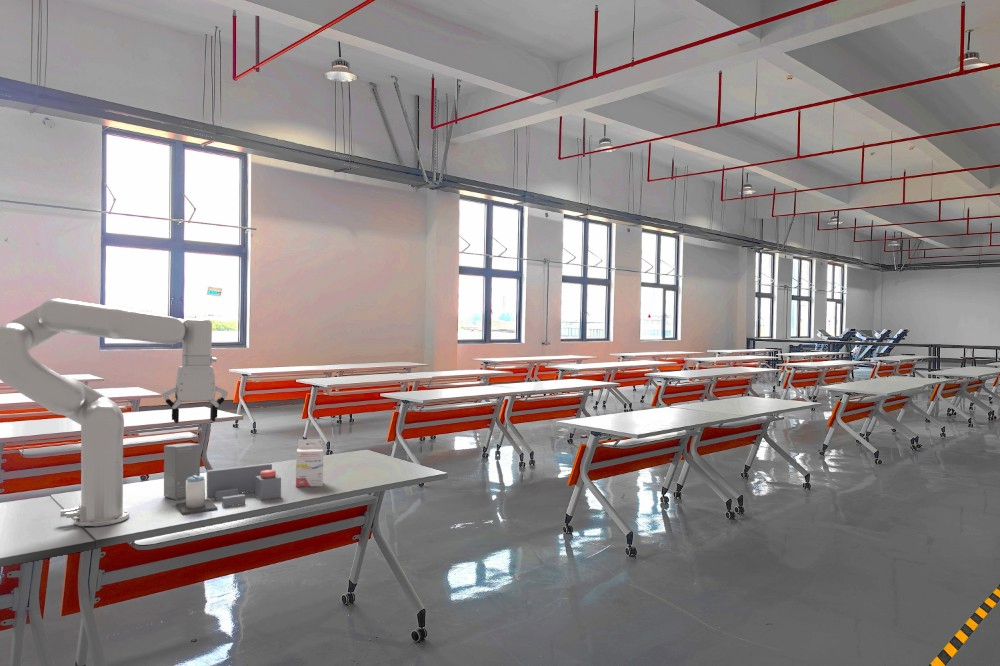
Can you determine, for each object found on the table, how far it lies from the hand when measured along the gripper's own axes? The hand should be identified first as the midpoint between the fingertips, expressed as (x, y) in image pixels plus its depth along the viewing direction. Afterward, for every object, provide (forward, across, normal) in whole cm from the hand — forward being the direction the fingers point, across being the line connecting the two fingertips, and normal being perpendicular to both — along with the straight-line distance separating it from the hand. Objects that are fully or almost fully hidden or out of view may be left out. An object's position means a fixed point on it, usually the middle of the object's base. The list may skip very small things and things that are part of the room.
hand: (194, 421), depth 185 cm
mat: (+25, -1, 0) cm, 25 cm away
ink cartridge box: (+24, -37, -8) cm, 45 cm away
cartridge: (+24, -1, 0) cm, 24 cm away
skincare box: (+25, 0, -16) cm, 30 cm away
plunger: (+23, -22, -1) cm, 31 cm away
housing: (+25, -16, -3) cm, 29 cm away
